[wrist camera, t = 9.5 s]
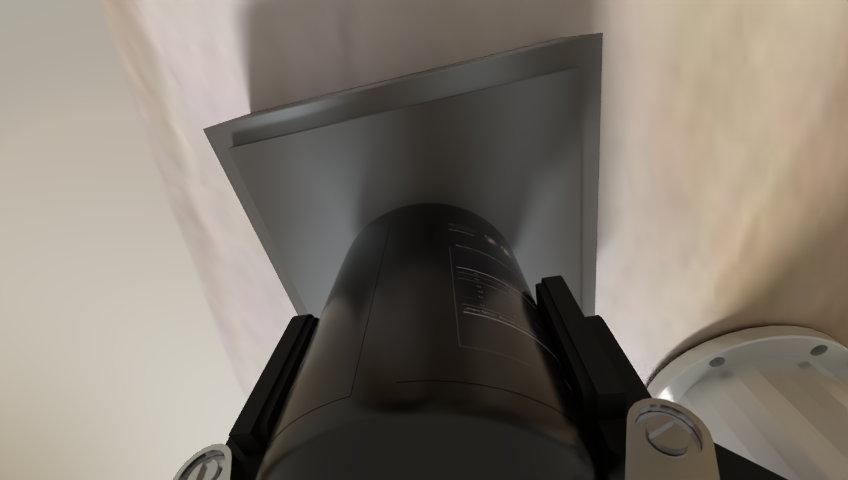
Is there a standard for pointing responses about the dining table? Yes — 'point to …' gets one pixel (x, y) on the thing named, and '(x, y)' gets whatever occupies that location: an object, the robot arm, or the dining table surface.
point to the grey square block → (430, 163)
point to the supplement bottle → (431, 366)
